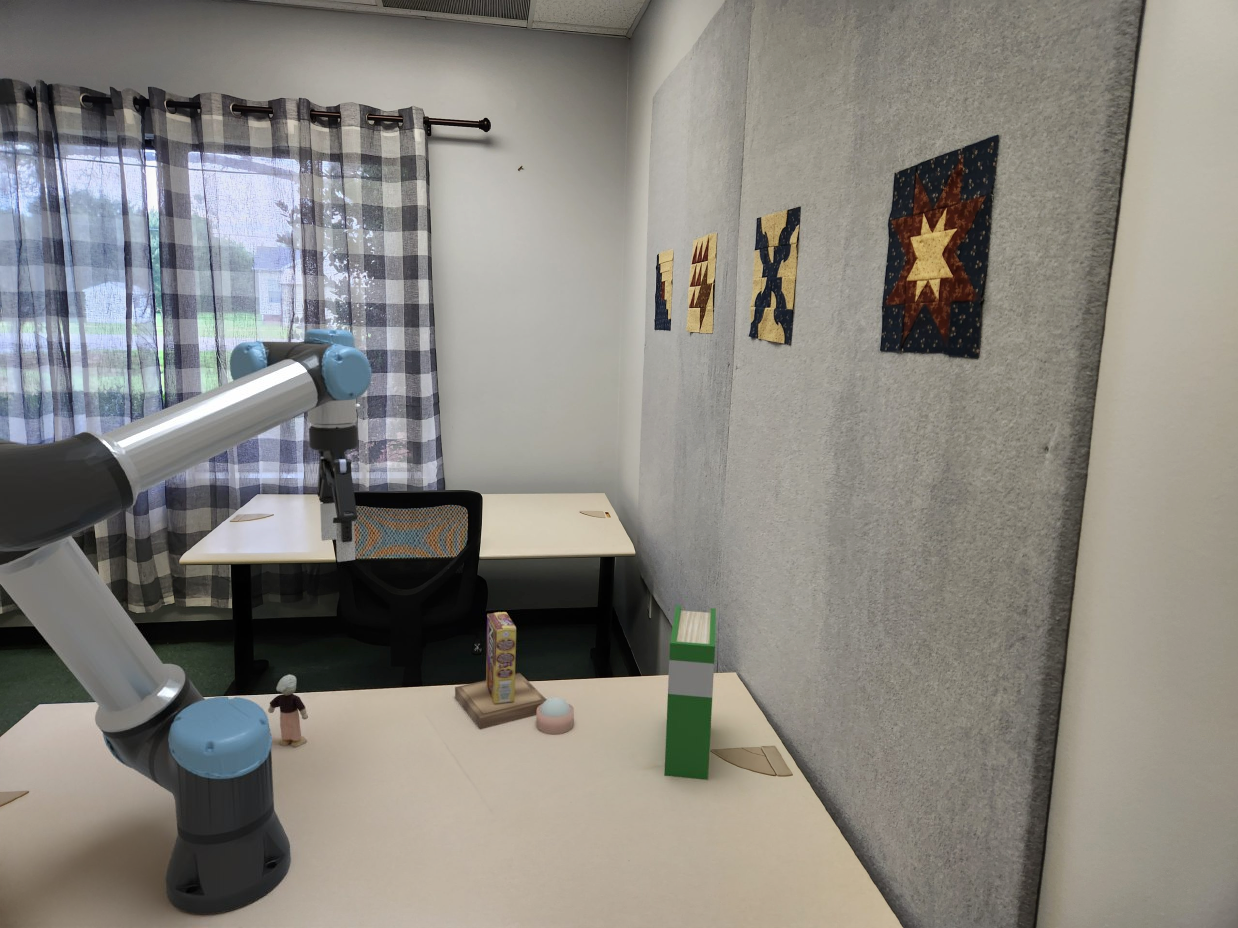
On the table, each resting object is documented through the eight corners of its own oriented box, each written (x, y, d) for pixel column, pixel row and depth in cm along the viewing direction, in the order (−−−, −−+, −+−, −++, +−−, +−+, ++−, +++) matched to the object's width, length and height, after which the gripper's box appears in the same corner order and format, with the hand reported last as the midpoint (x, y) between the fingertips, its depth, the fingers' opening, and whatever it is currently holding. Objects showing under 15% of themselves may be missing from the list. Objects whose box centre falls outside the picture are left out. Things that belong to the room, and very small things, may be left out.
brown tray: (548, 715, 150) (548, 700, 149) (480, 732, 143) (480, 717, 142) (519, 686, 161) (519, 672, 161) (455, 700, 154) (455, 686, 154)
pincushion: (579, 732, 144) (580, 702, 143) (546, 741, 140) (546, 711, 139) (563, 715, 150) (563, 687, 149) (530, 724, 146) (530, 695, 145)
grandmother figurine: (315, 736, 140) (313, 671, 137) (307, 748, 136) (303, 681, 134) (274, 735, 140) (270, 670, 137) (264, 746, 136) (260, 679, 134)
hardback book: (670, 723, 148) (676, 605, 144) (709, 727, 147) (715, 608, 143) (664, 775, 131) (670, 642, 127) (707, 779, 130) (715, 646, 126)
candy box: (516, 702, 148) (517, 627, 145) (494, 705, 147) (494, 629, 144) (506, 681, 156) (507, 610, 154) (485, 684, 155) (485, 612, 152)
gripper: (374, 433, 117) (378, 566, 121) (341, 415, 138) (345, 529, 142) (323, 435, 113) (328, 573, 117) (296, 416, 134) (302, 533, 138)
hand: (337, 549), depth 129 cm, fingers open, 13 cm apart
